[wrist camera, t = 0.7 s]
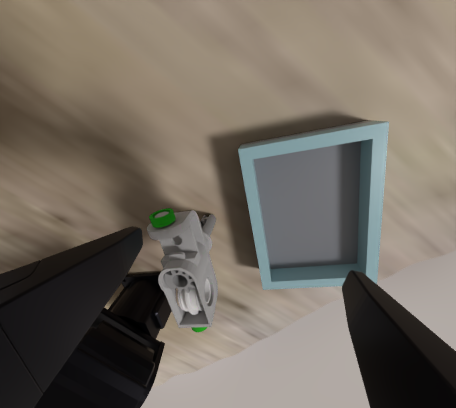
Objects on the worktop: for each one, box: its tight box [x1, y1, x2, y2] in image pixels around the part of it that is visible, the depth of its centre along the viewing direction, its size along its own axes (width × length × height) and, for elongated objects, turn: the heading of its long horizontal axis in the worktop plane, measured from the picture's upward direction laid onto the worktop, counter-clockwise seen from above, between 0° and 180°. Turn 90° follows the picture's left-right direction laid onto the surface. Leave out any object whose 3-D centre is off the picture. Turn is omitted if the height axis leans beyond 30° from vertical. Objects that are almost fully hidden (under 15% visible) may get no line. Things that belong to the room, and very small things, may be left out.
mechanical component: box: [147, 208, 218, 332], centre depth 19 cm, size 3×10×10 cm, turn 12°
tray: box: [238, 120, 389, 290], centre depth 20 cm, size 11×15×3 cm
